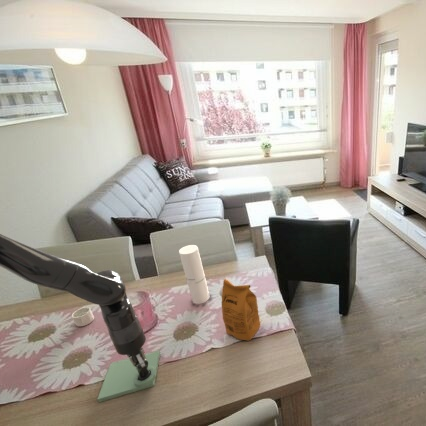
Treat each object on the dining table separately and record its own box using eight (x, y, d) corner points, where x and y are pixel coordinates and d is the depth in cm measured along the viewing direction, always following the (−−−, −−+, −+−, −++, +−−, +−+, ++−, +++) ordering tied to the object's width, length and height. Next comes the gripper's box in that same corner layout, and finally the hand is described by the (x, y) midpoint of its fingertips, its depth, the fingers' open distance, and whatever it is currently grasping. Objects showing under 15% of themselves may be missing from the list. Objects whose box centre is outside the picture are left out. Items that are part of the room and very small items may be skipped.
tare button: (138, 384, 90) (137, 380, 89) (140, 375, 93) (139, 371, 92) (150, 380, 91) (148, 377, 90) (152, 372, 94) (150, 368, 93)
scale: (98, 404, 86) (94, 397, 85) (111, 366, 98) (108, 359, 97) (155, 387, 91) (153, 380, 89) (162, 352, 102) (160, 346, 101)
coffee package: (239, 316, 117) (230, 270, 108) (264, 325, 112) (257, 278, 103) (221, 334, 109) (210, 286, 100) (248, 345, 104) (239, 296, 95)
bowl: (73, 329, 114) (68, 319, 112) (79, 318, 119) (75, 309, 117) (91, 325, 116) (87, 315, 114) (96, 314, 121) (92, 305, 119)
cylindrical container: (195, 293, 131) (182, 245, 121) (211, 292, 131) (199, 244, 121) (190, 304, 124) (176, 254, 114) (207, 303, 125) (195, 253, 115)
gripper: (105, 329, 86) (123, 370, 93) (119, 354, 77) (139, 396, 85) (133, 315, 91) (148, 354, 98) (149, 336, 82) (165, 378, 90)
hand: (144, 374), depth 91 cm, fingers closed
